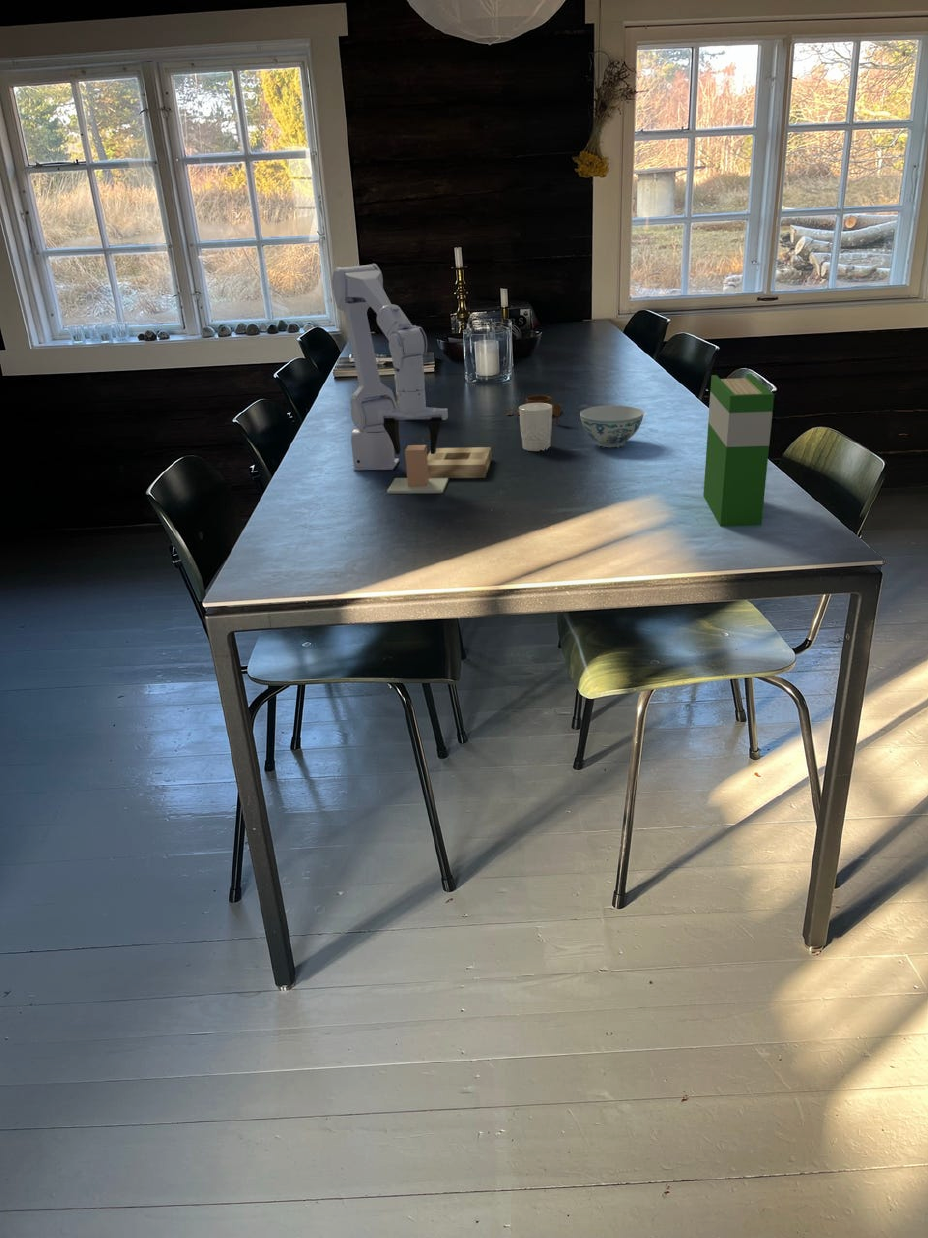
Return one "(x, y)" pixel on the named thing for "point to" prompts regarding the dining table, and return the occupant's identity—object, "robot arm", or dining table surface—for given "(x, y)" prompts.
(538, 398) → the place setting
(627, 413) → the chinaware
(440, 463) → the pocket block
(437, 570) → the dining table surface
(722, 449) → the hardback book
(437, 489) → the mat
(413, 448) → the terracotta block
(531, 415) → the white cup
